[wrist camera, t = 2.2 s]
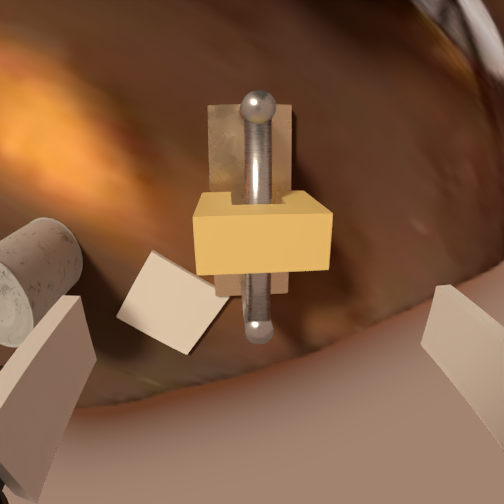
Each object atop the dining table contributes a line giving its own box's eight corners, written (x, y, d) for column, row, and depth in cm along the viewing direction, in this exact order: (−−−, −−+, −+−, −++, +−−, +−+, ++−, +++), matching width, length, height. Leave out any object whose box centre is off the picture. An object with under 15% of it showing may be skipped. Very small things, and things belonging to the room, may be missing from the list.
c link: (204, 236, 29) (196, 275, 21) (202, 192, 28) (192, 216, 20) (302, 232, 30) (328, 269, 22) (303, 190, 29) (332, 213, 21)
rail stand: (208, 104, 29) (200, 91, 20) (289, 104, 30) (315, 92, 21) (215, 292, 37) (213, 346, 27) (286, 289, 37) (304, 340, 28)
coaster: (152, 249, 34) (151, 251, 34) (229, 294, 37) (229, 297, 36) (117, 314, 37) (116, 316, 36) (187, 352, 39) (186, 355, 39)
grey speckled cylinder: (93, 285, 35) (50, 345, 24) (35, 295, 35) (-12, 348, 24) (68, 208, 32) (7, 246, 20) (11, 226, 32) (-51, 264, 20)
